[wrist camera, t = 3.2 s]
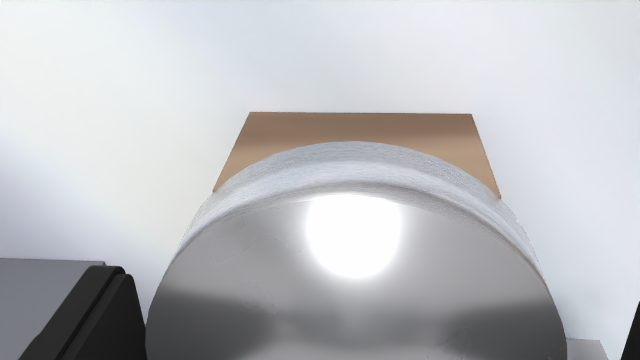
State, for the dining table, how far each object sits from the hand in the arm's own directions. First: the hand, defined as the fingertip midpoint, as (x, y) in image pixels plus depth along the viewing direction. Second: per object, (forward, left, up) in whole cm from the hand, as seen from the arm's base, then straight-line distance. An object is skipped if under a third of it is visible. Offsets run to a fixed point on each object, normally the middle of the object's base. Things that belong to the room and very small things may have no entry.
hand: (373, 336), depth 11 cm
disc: (0, 0, -1) cm, 1 cm away
